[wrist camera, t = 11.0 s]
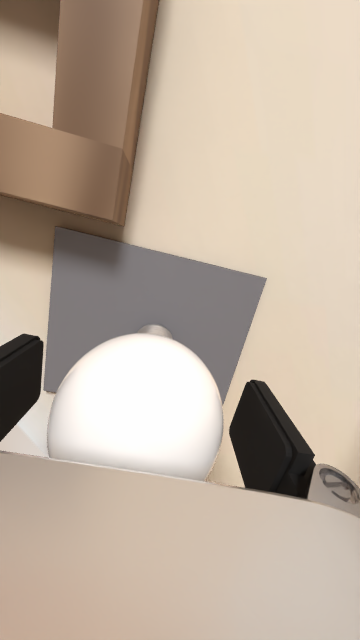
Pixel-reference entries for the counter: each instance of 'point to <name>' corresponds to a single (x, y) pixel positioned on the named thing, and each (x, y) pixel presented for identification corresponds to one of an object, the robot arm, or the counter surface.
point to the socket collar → (86, 114)
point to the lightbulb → (139, 408)
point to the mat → (144, 303)
